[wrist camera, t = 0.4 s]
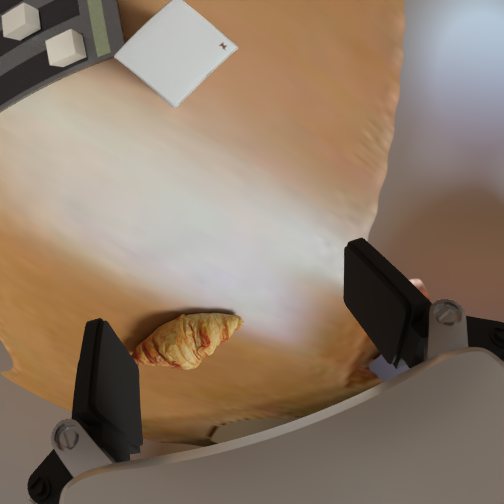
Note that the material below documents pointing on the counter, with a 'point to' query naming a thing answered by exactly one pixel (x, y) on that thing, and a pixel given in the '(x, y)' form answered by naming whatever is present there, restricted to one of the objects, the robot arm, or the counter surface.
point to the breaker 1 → (20, 22)
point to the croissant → (186, 340)
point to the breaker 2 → (65, 48)
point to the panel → (52, 24)
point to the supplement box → (175, 51)
